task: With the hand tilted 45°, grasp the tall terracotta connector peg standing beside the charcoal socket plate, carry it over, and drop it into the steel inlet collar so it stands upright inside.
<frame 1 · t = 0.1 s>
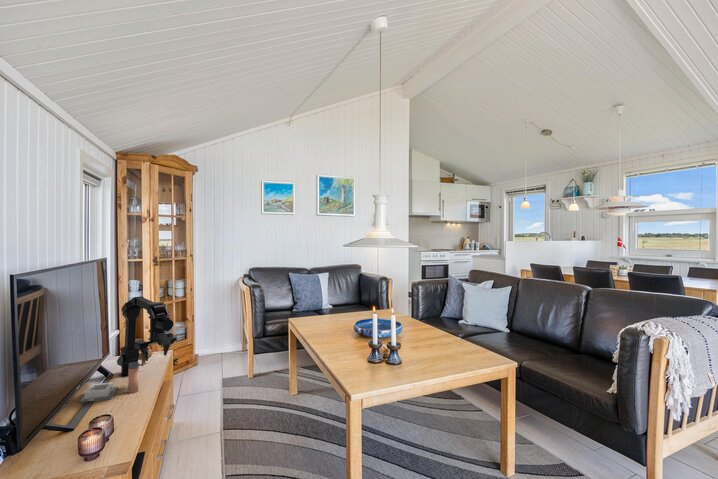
hand: (156, 358, 179), 15 cm above the table, tool pointing down, fingers open, 9 cm apart
socket block: (99, 395, 169), on the table
connector peg: (133, 391, 174), on the table
lion figurine: (140, 364, 210), on the table
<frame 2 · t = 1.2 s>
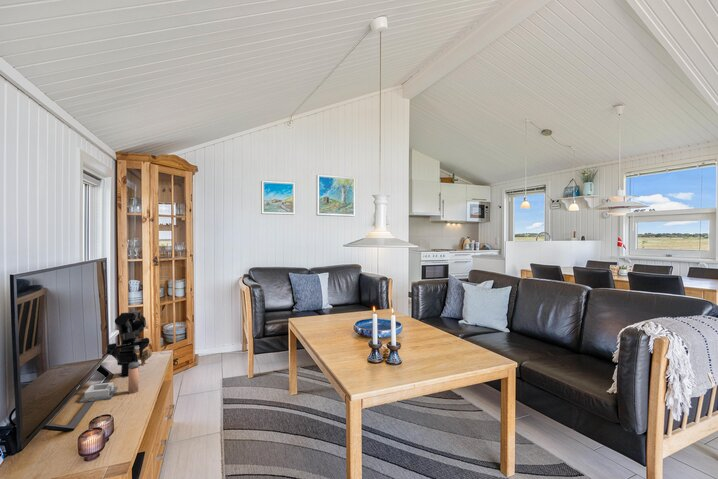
hand: (130, 360, 179), 13 cm above the table, tool tilted 45°, fingers open, 9 cm apart
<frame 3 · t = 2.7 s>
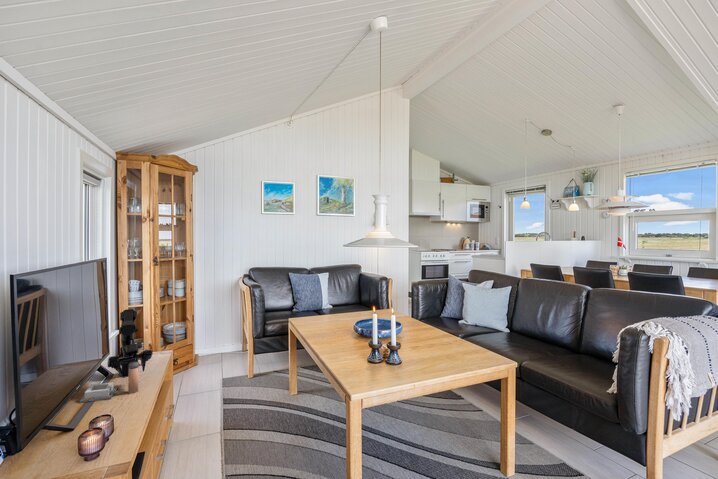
hand: (133, 373, 174), 9 cm above the table, tool tilted 45°, fingers open, 9 cm apart
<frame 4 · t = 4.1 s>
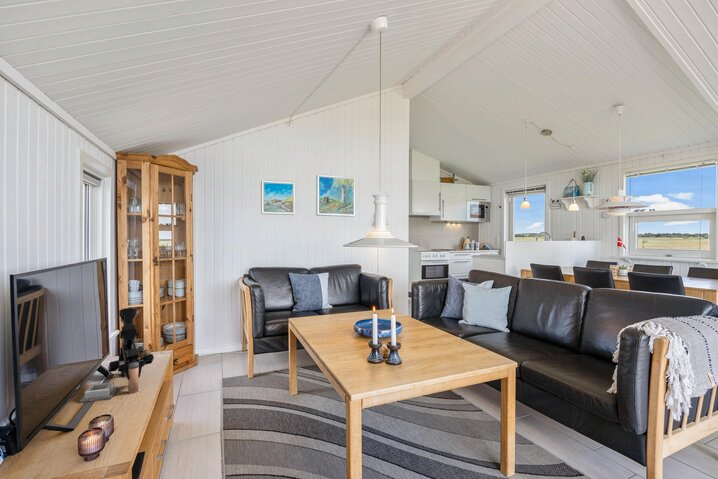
hand: (134, 378, 173), 7 cm above the table, tool tilted 45°, fingers closed on connector peg, 4 cm apart
connector peg: (133, 391, 174), on the table, touching gripper
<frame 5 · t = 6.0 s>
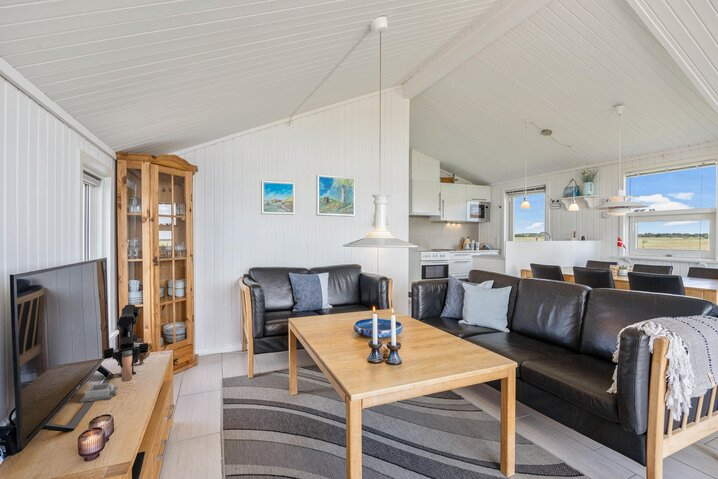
hand: (127, 366, 171), 13 cm above the table, tool tilted 45°, fingers closed on connector peg, 4 cm apart
connector peg: (126, 379, 172), point 6 cm above the table, touching gripper
when the fingers open (9 cm above the table, at t = 8.2 s): connector peg drops 1 cm, resting on socket block.
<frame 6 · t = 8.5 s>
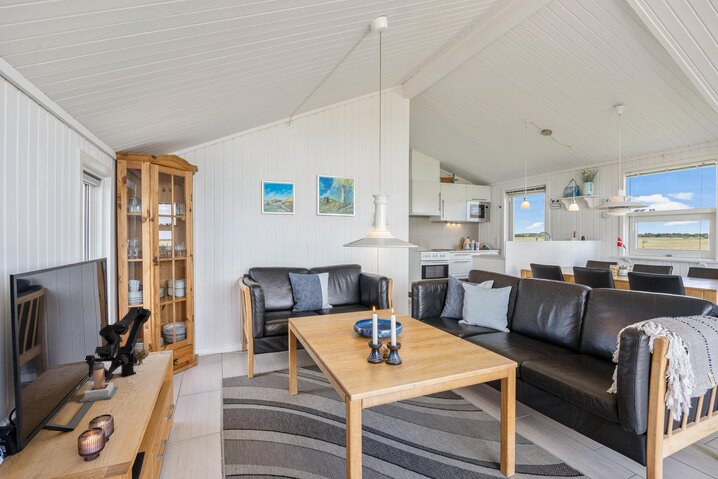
hand: (98, 376, 167), 10 cm above the table, tool tilted 45°, fingers open, 7 cm apart
connector peg: (99, 393, 169), point 1 cm above the table, touching socket block
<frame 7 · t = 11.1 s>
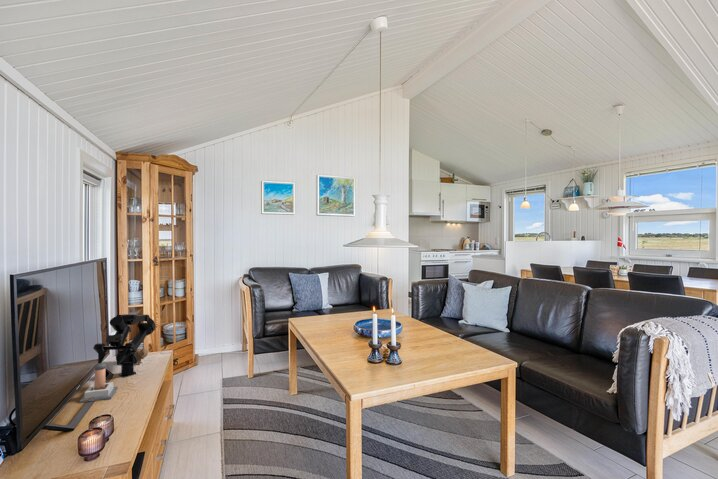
hand: (108, 363, 176), 13 cm above the table, tool tilted 45°, fingers open, 9 cm apart
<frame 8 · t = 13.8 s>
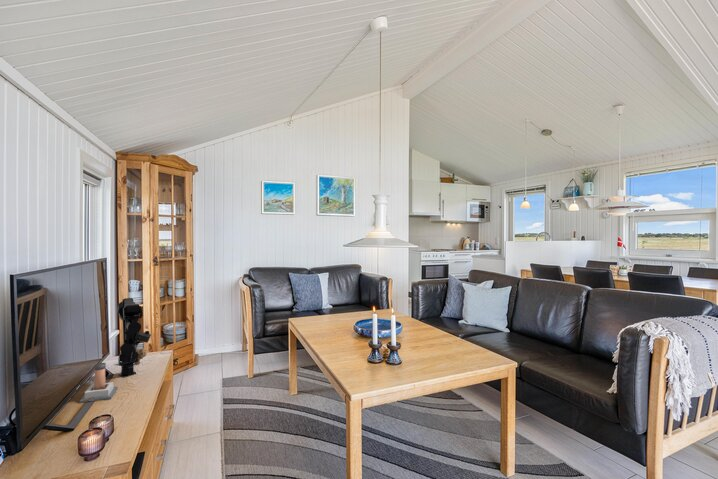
hand: (131, 358, 182), 13 cm above the table, tool pointing down, fingers open, 9 cm apart
at the end: connector peg 0.1 cm off-centre on the socket block, point 1.0 cm above the socket block's base; connector peg tilted 0°; the gripper is holding nothing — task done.
